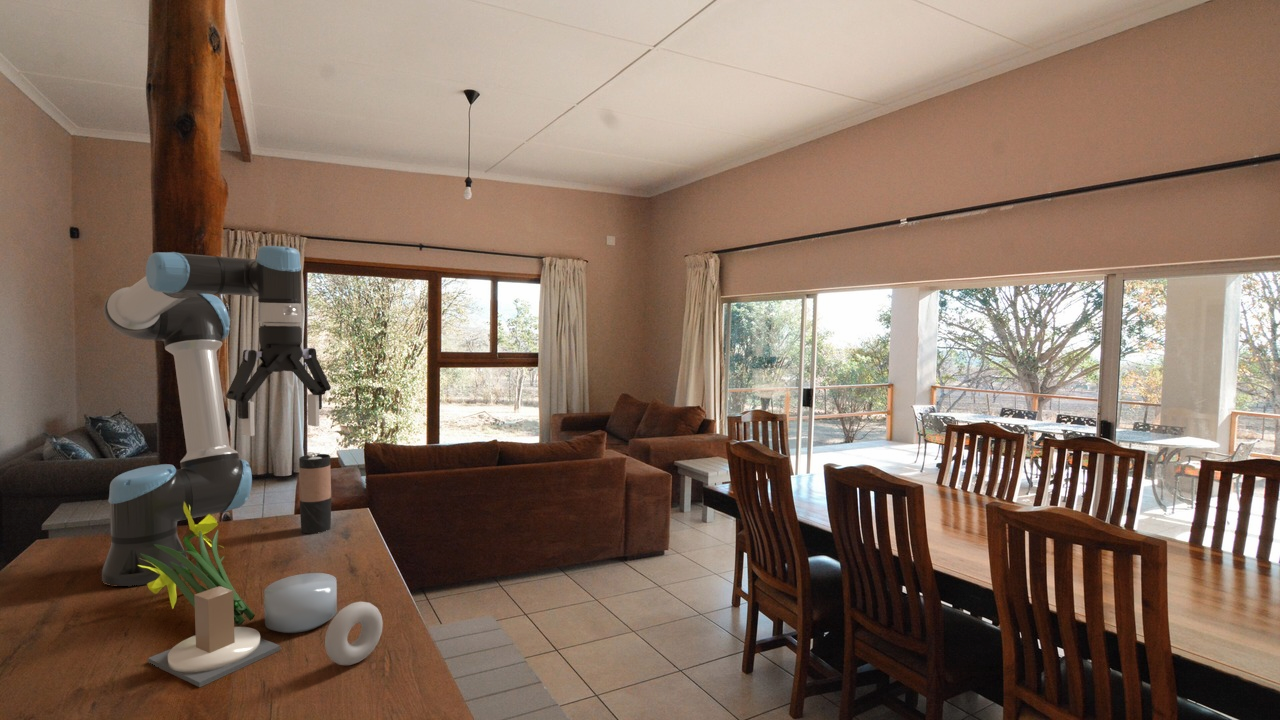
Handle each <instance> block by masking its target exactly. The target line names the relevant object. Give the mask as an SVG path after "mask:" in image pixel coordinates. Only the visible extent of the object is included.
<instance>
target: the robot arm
mask: <svg viewBox="0 0 1280 720" xmlns="http://www.w3.org/2000/svg"><path fill="white" fill-rule="evenodd" d="M300 255H301V254H300V251H299V250H298V249H297V248H294V247H289V246H277V245H263V246H262V245H261V246H259V247H258V249H257V253H256V258H242V257H229V256H215V255H205V254H204V255H203V254H192V253H180V252H175V251H170V252H168V251H167V252H160V251H159V252H153V253H151V254H150V255H149V256H148V259H147V261H146V264H145V275H144V277H142V278H141V279H140V280H139V281H137V282H135V283H134V284H133V285H132V286H128V287H127V286H126V287H122V288H119V289H117V290H116V291H114V292H112V294H110V295H109V296H108V298H106V300H105V302H104V304H103V310H102V311H103V316H104V318H105V321H106V322H107V323H108V325H109V326H110V327H111V328H112V329H114V331H116V332H118V333H119V334H121V335H123V336H126V337H128V338H131V339H136V340H139V341H152V342H153V341H162V342H163V345H164V350H165V351H167V352H168V353H169V354H171V355H173V359H174V365H175V367H174V368H175V372H176V373H175V374H176V381H177V387H178V388H177V389H178V396H179V404H180V410H181V411H180V412H181V417H182V424H183V425H182V427H183V434H184V439H185V440H184V441H185V447H186V448H185V449H186V453H185V455H184V456H183V458H182V459H181V460H180V462H179V463H180V468H179V469H177V468H176V467H175V466H174V465H173V464H167V463H163V464H155V465H147V466H143V467H138V468H135V469H132V470H131V469H130V470H128V471H125V472H122V473H121V474H119V475H117V476H115V477H114V478H113V479H112V480H111V481H110V484H109V494H108V501H107V502H108V503H109V519H110V520H109V521H110V542H111V543H110V548H109V550H108V553H107V557H106V559H105V562H104V564H103V567H102V570H101V582H102V581H103V582H104V583H107V584H110V585H117V586H128V587H136V585H137V586H143V585H147V584H148V583H149V582H152V581H154V580H156V579H157V578H158V577H159V576H160V574H158V573H156V572H155V571H153V570H150V569H148V568H143V567H140V566H138V565H141V566H147V567H152V568H156V569H158V568H157V567H155V566H154V565H153V564H151V562H150V563H149V561H148V560H147V559H145V558H144V557H143V556H141V555H140V553H141V554H144V555H147V556H150V557H152V558H154V559H156V560H158V561H160V562H162V563H164V564H165V565H167V566H168V567H170V568H171V569H173V568H174V567H173V566H172V564H171V563H170V561H171V562H173V563H175V564H177V565H178V566H180V567H183V568H186V569H188V568H187V567H186V566H184V565H183V564H182V563H181V562H179V561H178V560H177V559H176V558H174V557H173V556H171V555H169V554H168V553H166V552H164V551H163V550H161V549H159V548H157V547H156V546H155V545H154V544H157V545H162V546H165V547H169V548H172V549H174V550H176V551H181V550H185V548H184V546H183V543H182V542H181V539H180V537H179V535H178V522H179V521H185V520H188V519H187V517H186V515H185V513H184V509H183V505H184V502H185V504H186V506H187V508H188V510H189V512H190V515H191V517H192V519H196V518H199V517H200V518H201V517H206V516H207V515H209V514H210V515H215V514H222V513H227V512H228V511H232V510H236V509H237V510H238V509H239V508H241V507H243V506H244V505H245V504H246V503H247V501H248V498H249V497H250V494H251V491H252V484H253V476H252V475H253V473H252V469H251V466H250V463H249V462H248V461H247V460H246V459H242V458H241V459H240V458H239V451H237V450H236V449H233V448H232V447H231V446H230V445H231V444H230V439H229V431H228V425H227V417H226V411H225V403H224V398H223V389H222V383H221V375H220V369H219V362H218V353H217V351H218V350H219V349H220V348H221V347H222V346H223V340H226V339H227V337H229V334H230V326H231V325H230V324H231V321H230V316H229V312H228V310H227V307H226V306H225V304H224V302H223V300H222V299H221V298H219V297H218V296H217V295H227V296H228V295H230V296H232V295H233V296H245V297H257V298H258V299H257V302H258V303H257V305H258V309H257V310H258V311H257V313H258V315H257V316H258V318H257V319H258V323H259V324H261V325H260V326H259V327H258V343H259V345H260V347H259V351H257V350H254V349H244V350H243V352H242V359H241V363H240V365H239V367H238V369H237V371H236V373H235V375H234V378H233V380H232V382H231V384H230V386H229V387H228V390H227V392H226V395H225V397H226V398H227V399H229V400H232V401H235V402H236V403H237V417H238V419H241V422H242V423H241V425H242V427H241V430H242V431H241V433H242V435H243V436H249V437H254V436H255V435H256V431H255V401H251V399H252V398H253V396H254V395H255V394H256V393H257V391H258V390H259V389H260V387H261V386H262V385H263V384H264V382H265V381H266V379H267V378H268V377H269V376H270V375H272V374H273V372H275V373H278V372H279V373H282V372H292V373H294V375H295V376H296V377H297V378H298V379H299V380H300V381H301V383H302V384H303V385H304V386H305V387H306V389H307V390H308V391H309V393H310V394H307V396H306V399H307V426H311V427H319V426H320V410H322V407H323V396H324V395H325V394H326V392H329V391H331V385H330V382H329V381H328V378H327V376H326V373H325V372H324V370H323V369H322V367H321V365H320V362H319V360H318V357H317V350H316V348H315V347H304V348H303V349H302V343H303V332H302V331H303V329H302V327H301V326H299V324H301V323H302V265H301V256H300ZM302 358H303V359H304V361H305V363H306V366H307V368H308V370H309V372H308V371H307V369H306V367H305V365H304V364H303V363H302V362H301V359H302ZM259 360H260V361H261V363H260V364H259V365H258V367H257V368H256V371H255V373H254V374H253V375H252V373H253V370H254V368H255V365H256V362H257V361H259ZM251 375H252V376H251ZM249 378H250V379H249ZM189 505H190V509H189ZM181 554H182V555H183V556H185V557H186V558H187V559H188V555H187V553H186V552H182V553H181ZM140 558H141V559H140ZM142 559H143V560H142ZM145 560H147V561H148V562H147V561H145ZM132 585H133V586H132ZM134 585H135V586H134Z"/></svg>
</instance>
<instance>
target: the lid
mask: <svg viewBox="0 0 1280 720" xmlns="http://www.w3.org/2000/svg"><path fill="white" fill-rule="evenodd" d="M194 597H195V608H194V623H195V624H194V626H195V635H192V636H190V637H187V638H185V639H183V640H182V641H180V642H178V643H177V644H176V645H174V646H173V647H172V648H170V649H171V650H170V651H169V653H168V666H169V667H170V668H171V669H172V670H175V671H178V672H185V673H193V672H204V671H210V670H215V669H219V668H222V667H225V666H228V665H231V664H234V663H236V662H239V661H241V660H243V659H245V658H246V657H248V656H250V655H251V654H252V653H254V652H255V651H256V650H257V649H258V647H259V646H260V638H261V634H260V632H259V631H258V630H257V629H255V628H252V627H249V626H248V627H247V626H235V623H234V600H233V591H232V590H229V589H227V588H224V587H221V586H218V587H215V588H212V589H209V588H208V590H207V591H204V592H201V593H198V594H197V593H195V594H194Z"/></svg>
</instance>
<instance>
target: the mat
mask: <svg viewBox="0 0 1280 720" xmlns="http://www.w3.org/2000/svg"><path fill="white" fill-rule="evenodd" d="M171 649H172V648H169V649H167V650H164V651H162V652H160V653H157V654H154V655H152V656H150V657H147V662H149V663H148V664H150V663H151V664H150V665H152V664H153V665H152V666H154V665H155V666H154V667H157V668H158V667H159V668H158V669H160V670H162V671H165V672H167V673H169V674H171V675H173V676H175V677H176V678H179V679H181V680H183V681H185V682H188V683H190V684H191V685H193V686H196V687H198V688H201V687H204V686H206V685H208V684H210V683H213V682H214V681H217V680H219V679H221V678H224V677H225V676H227V675H230V674H232V673H234V672H237V671H238V670H241V669H243V668H245V667H247V666H249V665H252V664H253V663H255V662H257V661H260V660H262V659H264V658H266V657H269V656H271V655H273V654H275V653H278V652H279V651H281V645H280V644H278V643H274V642H272V641H269V640H267V639H264V638H262V637H260V646H259V647H258V649H257V650H256V651H255V652H254V653H252V654H251V655H250V656H248V657H246V658H245V659H243V660H241V661H239V662H236V663H234V664H231V665H228V666H225V667H222V668H219V669H215V670H210V671H204V672H193V673H185V672H178V671H175V670H172V669H171V668H170V667H169V666H168V653H169V651H170V650H171Z"/></svg>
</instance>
